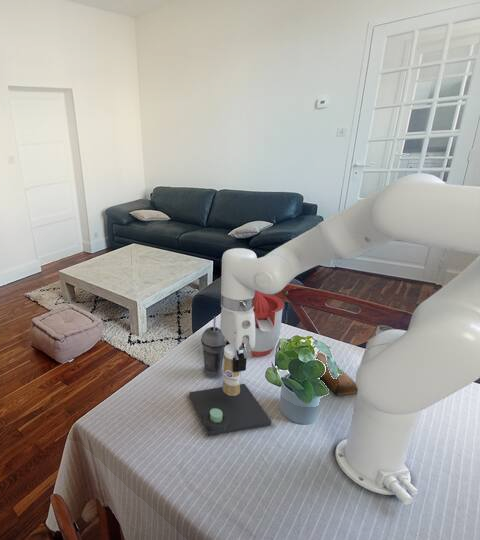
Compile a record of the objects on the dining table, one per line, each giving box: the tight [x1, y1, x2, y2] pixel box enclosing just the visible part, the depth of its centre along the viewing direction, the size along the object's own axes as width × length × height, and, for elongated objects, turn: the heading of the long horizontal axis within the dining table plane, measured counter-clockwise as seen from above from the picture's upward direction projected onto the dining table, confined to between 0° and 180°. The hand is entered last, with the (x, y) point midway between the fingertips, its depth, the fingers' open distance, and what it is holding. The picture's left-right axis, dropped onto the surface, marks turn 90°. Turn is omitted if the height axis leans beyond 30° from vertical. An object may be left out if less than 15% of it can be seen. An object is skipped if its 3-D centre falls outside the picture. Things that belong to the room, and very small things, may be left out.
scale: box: [189, 383, 272, 437], centre depth 87 cm, size 14×16×3 cm
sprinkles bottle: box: [222, 344, 243, 396], centre depth 87 cm, size 5×5×14 cm
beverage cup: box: [200, 316, 225, 379], centre depth 99 cm, size 7×7×20 cm
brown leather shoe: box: [316, 352, 358, 397], centre depth 97 cm, size 18×7×7 cm
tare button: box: [210, 408, 223, 423], centre depth 82 cm, size 3×3×2 cm
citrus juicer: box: [241, 290, 285, 357], centre depth 109 cm, size 16×17×20 cm
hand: (234, 363), depth 86 cm, fingers closed on sprinkles bottle, 4 cm apart
